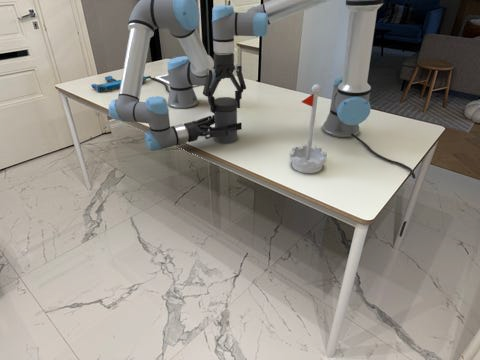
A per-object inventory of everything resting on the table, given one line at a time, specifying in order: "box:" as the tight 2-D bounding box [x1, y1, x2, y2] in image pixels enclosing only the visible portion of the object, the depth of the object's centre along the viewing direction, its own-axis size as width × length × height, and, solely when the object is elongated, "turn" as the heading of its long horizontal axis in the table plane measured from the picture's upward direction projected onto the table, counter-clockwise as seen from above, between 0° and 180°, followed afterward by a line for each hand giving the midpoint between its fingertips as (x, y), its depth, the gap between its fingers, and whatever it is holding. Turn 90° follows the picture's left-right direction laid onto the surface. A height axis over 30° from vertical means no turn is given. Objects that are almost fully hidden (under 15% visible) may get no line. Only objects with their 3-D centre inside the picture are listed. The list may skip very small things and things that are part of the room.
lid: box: [214, 96, 238, 111], centre depth 136 cm, size 10×10×2 cm
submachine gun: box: [90, 75, 152, 92], centre depth 206 cm, size 34×4×25 cm
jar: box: [213, 108, 238, 144], centre depth 140 cm, size 9×9×16 cm
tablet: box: [153, 73, 200, 88], centre depth 212 cm, size 32×20×1 cm, turn 41°
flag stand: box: [289, 83, 328, 174], centre depth 116 cm, size 13×13×30 cm
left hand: (235, 121), depth 142 cm, fingers closed on jar, 9 cm apart
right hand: (225, 109), depth 137 cm, fingers open, 10 cm apart
